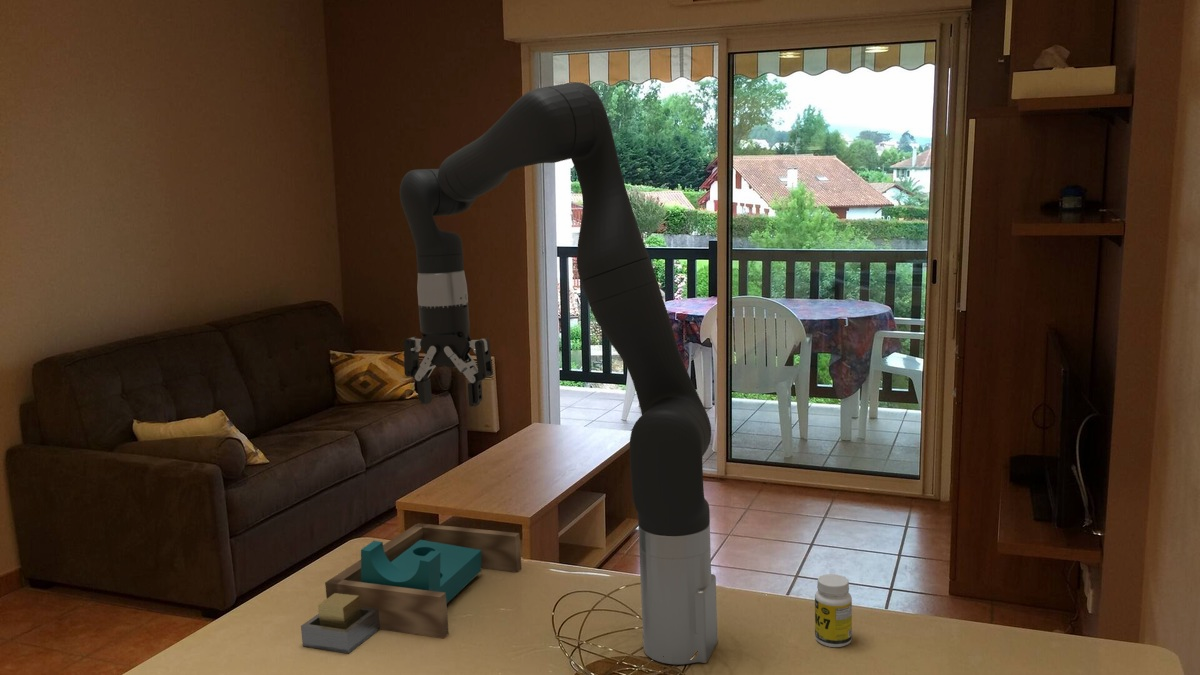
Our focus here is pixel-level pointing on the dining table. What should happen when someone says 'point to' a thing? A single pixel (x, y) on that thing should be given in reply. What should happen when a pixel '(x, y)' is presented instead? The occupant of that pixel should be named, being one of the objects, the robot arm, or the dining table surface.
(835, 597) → the supplement bottle
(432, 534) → the bracket
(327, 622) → the key block
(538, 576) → the dining table surface
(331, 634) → the tray
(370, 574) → the teal l-shaped bracket
